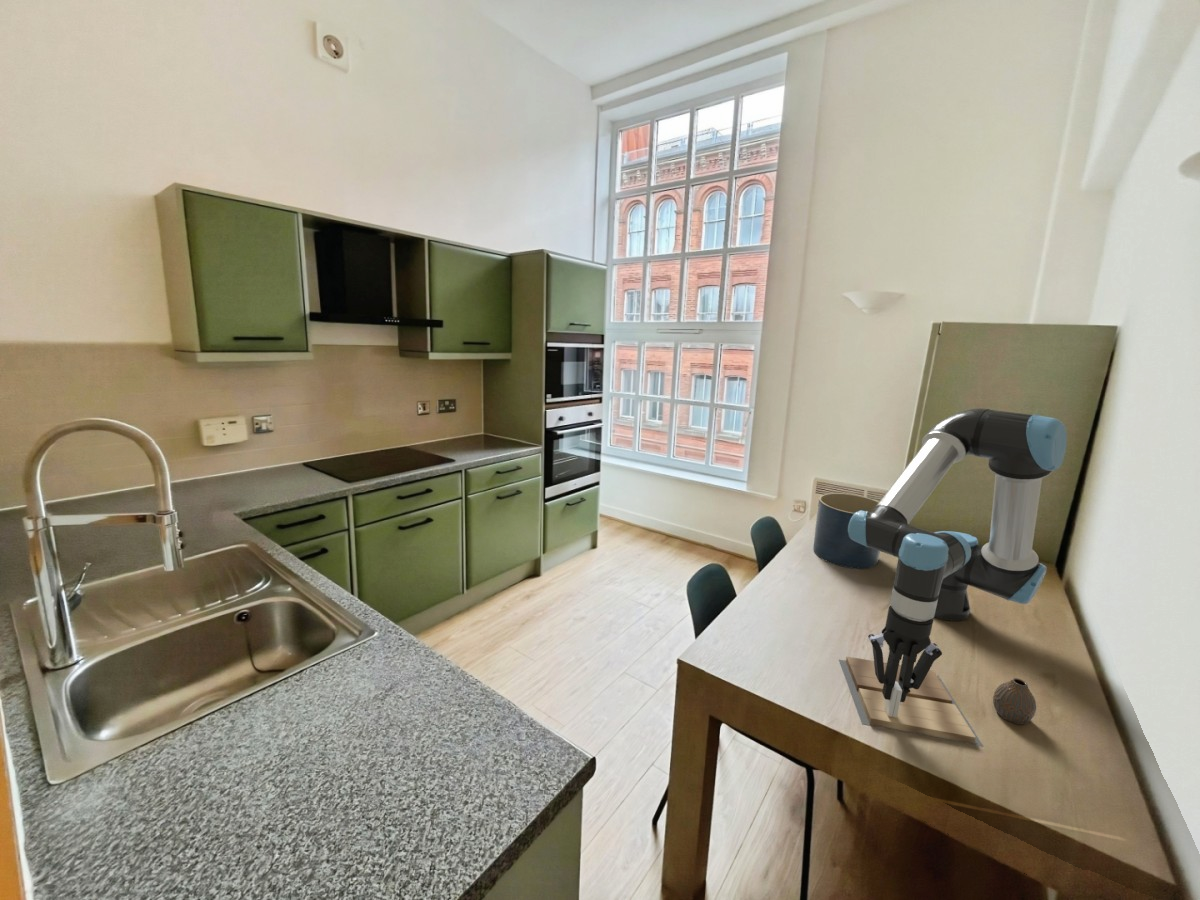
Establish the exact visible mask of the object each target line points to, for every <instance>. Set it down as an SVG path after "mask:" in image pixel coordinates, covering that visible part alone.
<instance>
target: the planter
mask: <svg viewBox="0 0 1200 900" xmlns="http://www.w3.org/2000/svg"><path fill="white" fill-rule="evenodd" d="M879 502H880V501H878V500H876V499H874V498H873V499H872V498H870V497H866V496H862V495H858V494H851V493H842V492H841V493H839V492H838V493H837V492H834V493H832V492H831V493H825V494H822V495H820V496H819V498H818V504H817V512H816V520H815V521H816V522H815V529H814V538H813V552H814V554H815V555H816V556H817V557H819V558H820V559H822V560H823V561H825V562H827V563H831V564H832V565H836V566H839V567H844V568H848V569H849V568H850V569H858V570H859V569H860V570H863V569H870V568H873V567H875V566H877V565H878V562H879V558H880V553H881V551H878V550H875V549H873V548H870V547H866V546H864V545H862V544H860V543H857V542H855V541H853V540H852V539H851V538H850V537H849V533H848V525H849V522H850V519H851V517H852V516H853V514H854V513H855V512H858V511H860V510H862V511H869V512H871V511H872V510H873V509H874V508H875V507H876V506H877V504H878V503H879Z"/></svg>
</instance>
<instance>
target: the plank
mask: <svg viewBox="0 0 1200 900" xmlns="http://www.w3.org/2000/svg"><path fill="white" fill-rule="evenodd" d="M858 695H859V698H860V700H861V703H862V706H863V708H864V711H865V714H866V716H867V719H868V721H869V724H871V725H876V726H882V727H887V728H892V729H898V730H903V731H909V732H914V733H919V734H925V735H930V736H936V737H941V738H946V739H952V740H957V741H963V742H968V743H973V744H974V743H975V739H976V737H975V735H974V734H973V732H972V730H971V729H970V727H969V726H968V724H967V723H966V721H965V719H964V718H963V716H962V715H961V713H960V712H959V710H958V708H957V707H956V705H955V704H949V703H943V702H937V701H931V700H925V699H920V698H914V697H908V696H906V699H905V701H904V702H900V705H899V709H898V714H897V718H896V717H893V716H892V717H890V716H888V714H887V712H886V710H885V708H884V705H885V700H886V699H885V698H884V696H883V693H882V692H879V691H873V690H867V689H861V688H859V691H858Z"/></svg>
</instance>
